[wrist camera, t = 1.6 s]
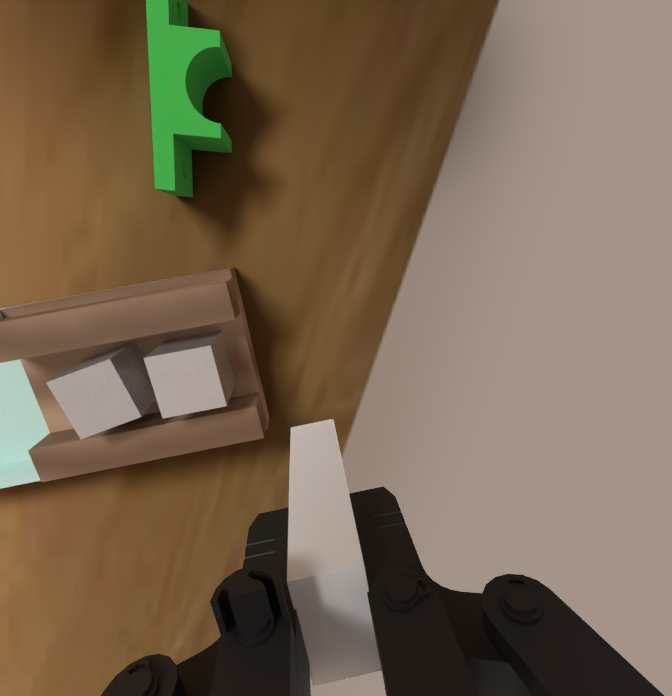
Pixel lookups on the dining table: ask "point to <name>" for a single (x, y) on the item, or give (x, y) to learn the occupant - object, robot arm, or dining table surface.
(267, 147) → the dining table surface
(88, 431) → the chip
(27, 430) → the tray
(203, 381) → the chip
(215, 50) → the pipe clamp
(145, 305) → the slot board
